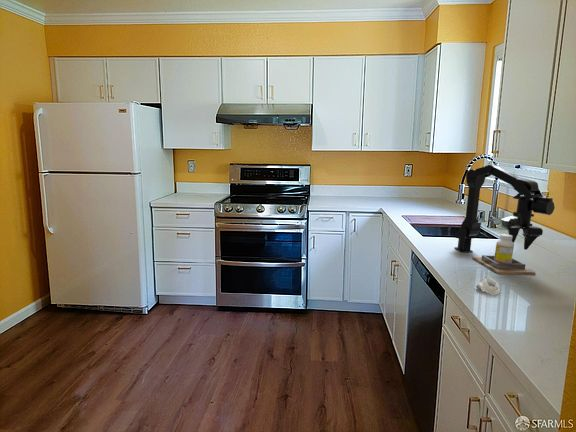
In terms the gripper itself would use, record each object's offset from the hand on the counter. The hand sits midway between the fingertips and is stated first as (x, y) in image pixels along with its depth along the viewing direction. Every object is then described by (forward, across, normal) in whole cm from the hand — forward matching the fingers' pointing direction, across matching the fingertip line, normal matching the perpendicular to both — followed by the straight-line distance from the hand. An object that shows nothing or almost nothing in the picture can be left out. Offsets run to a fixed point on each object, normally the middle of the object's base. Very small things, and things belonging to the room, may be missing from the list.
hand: (518, 246), depth 170 cm
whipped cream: (+10, +29, -28) cm, 41 cm away
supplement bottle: (+8, 0, -6) cm, 10 cm away
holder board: (+9, 0, -6) cm, 11 cm away
